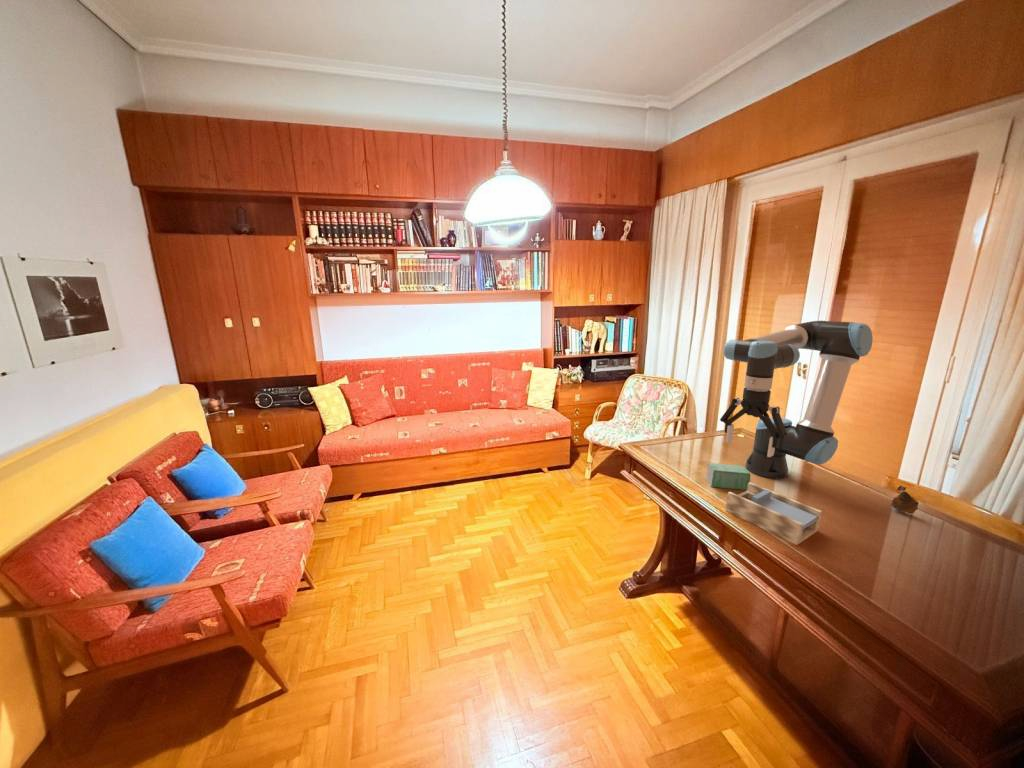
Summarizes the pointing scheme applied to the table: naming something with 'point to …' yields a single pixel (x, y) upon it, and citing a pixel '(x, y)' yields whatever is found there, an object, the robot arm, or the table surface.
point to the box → (728, 476)
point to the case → (771, 514)
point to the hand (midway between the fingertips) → (748, 448)
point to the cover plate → (784, 508)
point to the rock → (904, 502)
